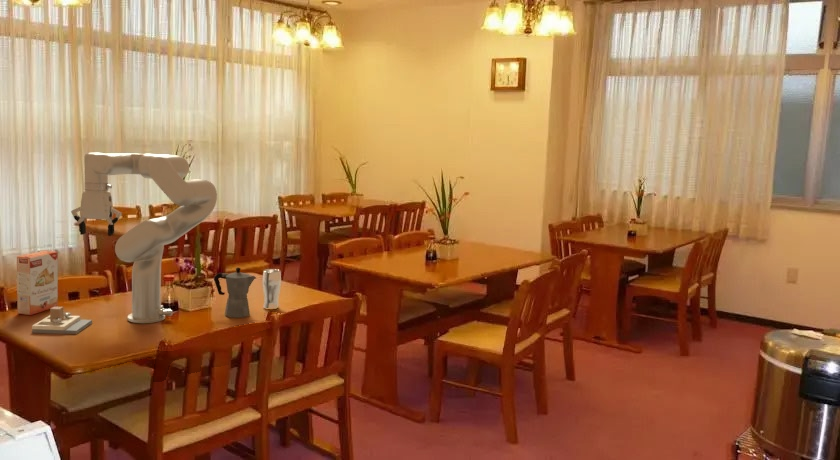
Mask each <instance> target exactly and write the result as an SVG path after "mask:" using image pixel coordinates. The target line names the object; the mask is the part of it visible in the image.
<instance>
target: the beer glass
mask: <svg viewBox="0 0 840 460" xmlns="http://www.w3.org/2000/svg"><path fill="white" fill-rule="evenodd" d="M262 271H263V273H262V290H263V296H264V298H263V299H264V301H263V307H264V308H277V307H278V306H279V307H280V303H279V296H280V291H281V286H282V285H281V284H282V277H281V276H282V274H281V273H282V271H281V269H276V268H267V269H264V270H262ZM263 307H262V308H263Z"/></svg>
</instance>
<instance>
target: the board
mask: <svg viewBox="0 0 840 460" xmlns="http://www.w3.org/2000/svg"><path fill="white" fill-rule="evenodd" d="M92 324H93V319H81V318H80V320H79V321H77V322H76V323H74V324H73V325H71V326H70V327H68V328H67V329H65V330H43V329H32V328H31V333H33V334H59V335H60V334H61V335H62V334H63V335H78V334H79V333H80V332H81V331H83V330H85V329H86V328H87V327H89V326H91V325H92Z"/></svg>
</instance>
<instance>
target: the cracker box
mask: <svg viewBox="0 0 840 460" xmlns="http://www.w3.org/2000/svg"><path fill="white" fill-rule="evenodd" d="M58 253H59V252H58V251H54V250H41V251H36V252H32V253H27V254H21V255H17V256H16V298H17V299H16V301H17V303H16V304H17V305H16V306H17V309H16V310H17V314H18V315H19V314H20V315H26V316H32V315H36V314H38V313H42V312H45V311H48V310H50V309H51V308H53V307H59V306H58V305H59V302H58V300H59V299H58V297H59V293H58V290H59V289H58V286H59V283H58V280H59V279H58V278H59V277H58V273H59V272H58V271H59V269H58V266H59V265H58V264H59V263H58V262H59V261H58V258H59V257H58V255H59V254H58Z"/></svg>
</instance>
